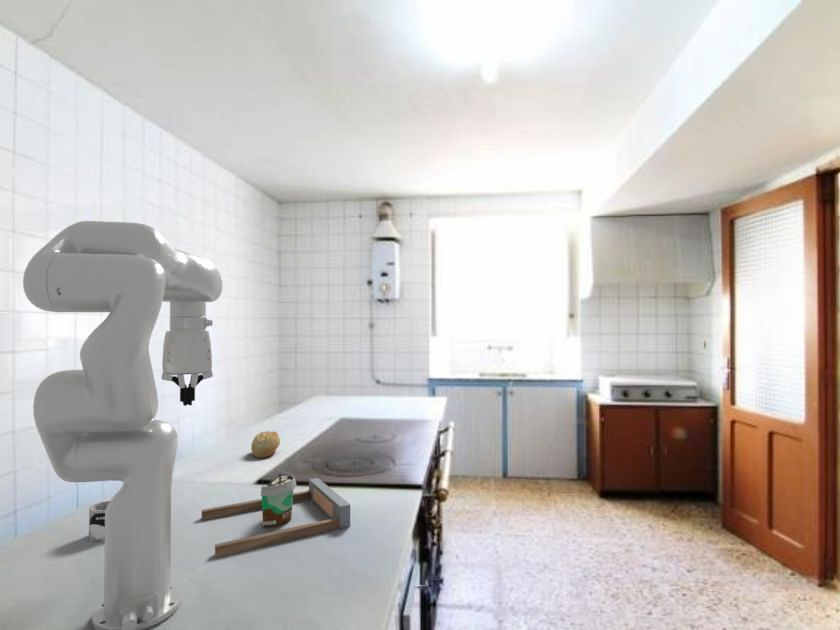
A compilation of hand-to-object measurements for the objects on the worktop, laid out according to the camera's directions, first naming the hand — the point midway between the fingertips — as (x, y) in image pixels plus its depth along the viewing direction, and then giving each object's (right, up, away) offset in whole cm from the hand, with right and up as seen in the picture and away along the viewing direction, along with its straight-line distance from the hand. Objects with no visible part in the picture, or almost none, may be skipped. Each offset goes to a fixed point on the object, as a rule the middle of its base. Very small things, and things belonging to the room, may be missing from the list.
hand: (187, 404), depth 112 cm
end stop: (+30, -29, +12) cm, 44 cm away
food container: (+20, -29, +6) cm, 36 cm away
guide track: (+18, -29, +4) cm, 34 cm away
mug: (-16, -29, -2) cm, 33 cm away
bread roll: (-3, -30, +66) cm, 73 cm away
